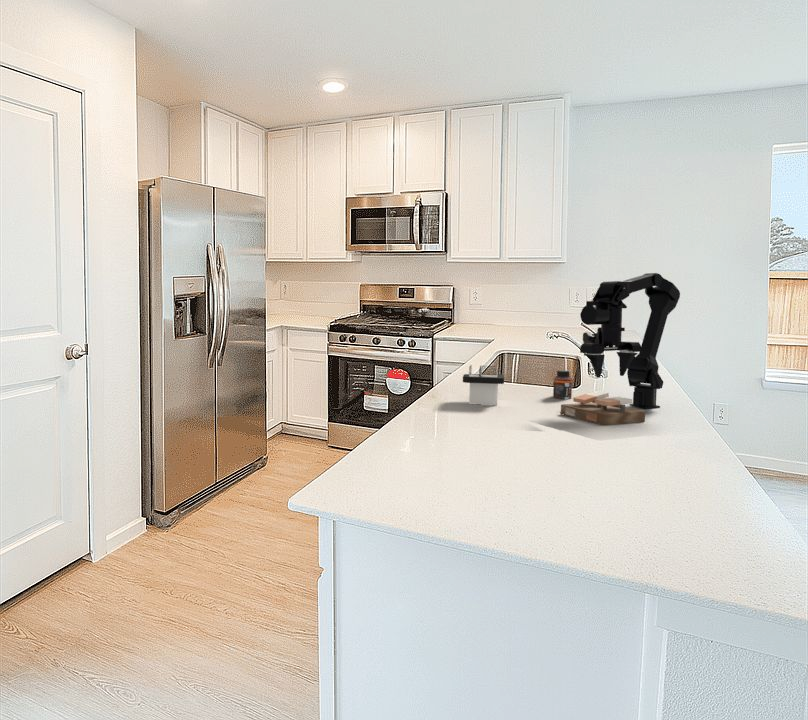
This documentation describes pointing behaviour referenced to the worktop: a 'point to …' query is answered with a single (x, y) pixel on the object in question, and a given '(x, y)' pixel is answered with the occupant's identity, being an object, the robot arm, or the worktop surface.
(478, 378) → the white and black block
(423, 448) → the worktop surface
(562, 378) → the supplement bottle
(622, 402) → the block
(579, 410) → the switch unit
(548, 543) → the worktop surface
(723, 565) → the worktop surface
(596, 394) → the rocker
